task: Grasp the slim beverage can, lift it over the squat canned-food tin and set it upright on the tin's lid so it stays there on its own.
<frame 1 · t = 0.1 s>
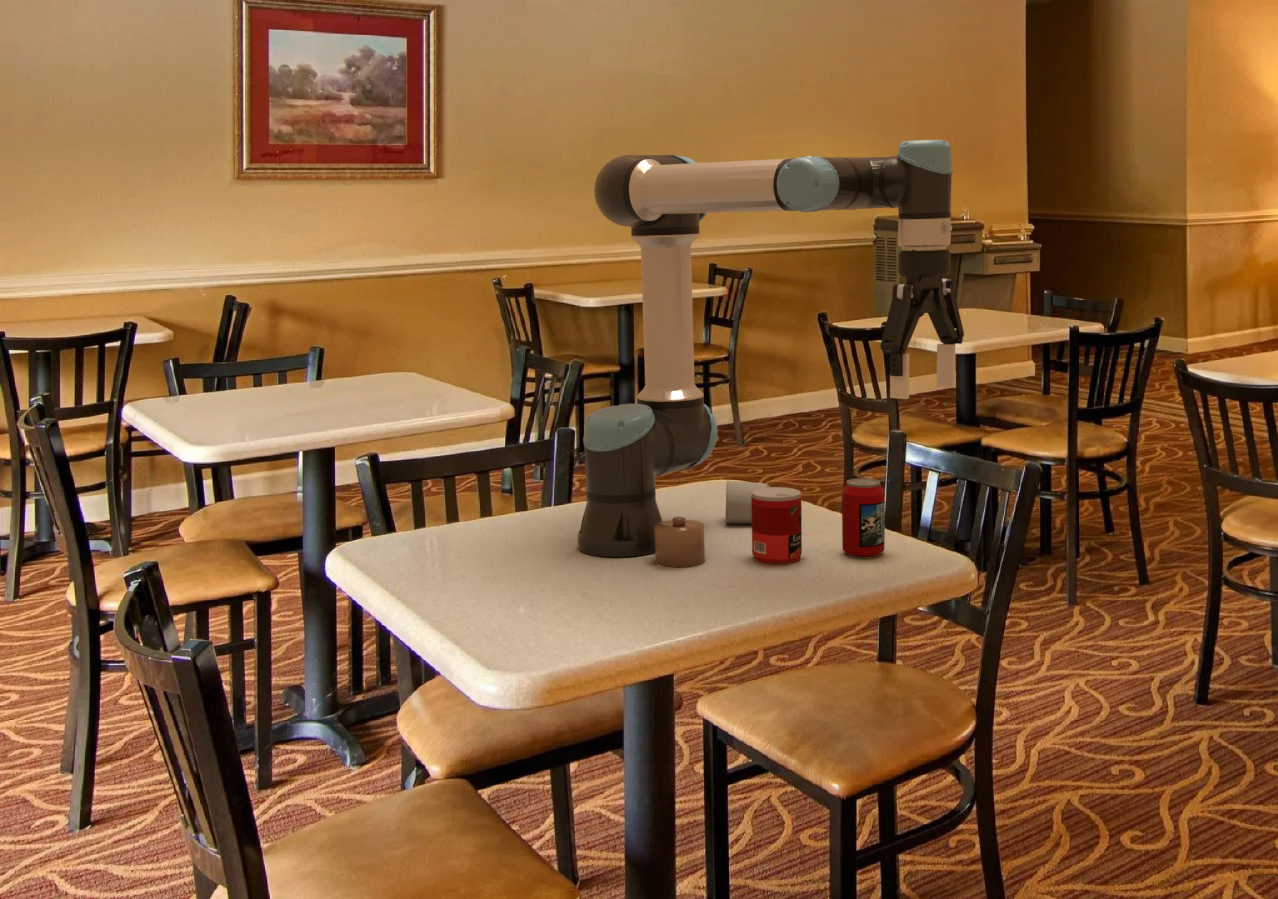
hand: (923, 392, 196), 28 cm above the table, fingers open, 13 cm apart
canned food: (777, 559, 212), on the table
beverage can: (863, 555, 213), on the table
sugar bowl: (680, 561, 212), on the table
ceramic mug: (746, 522, 238), on the table
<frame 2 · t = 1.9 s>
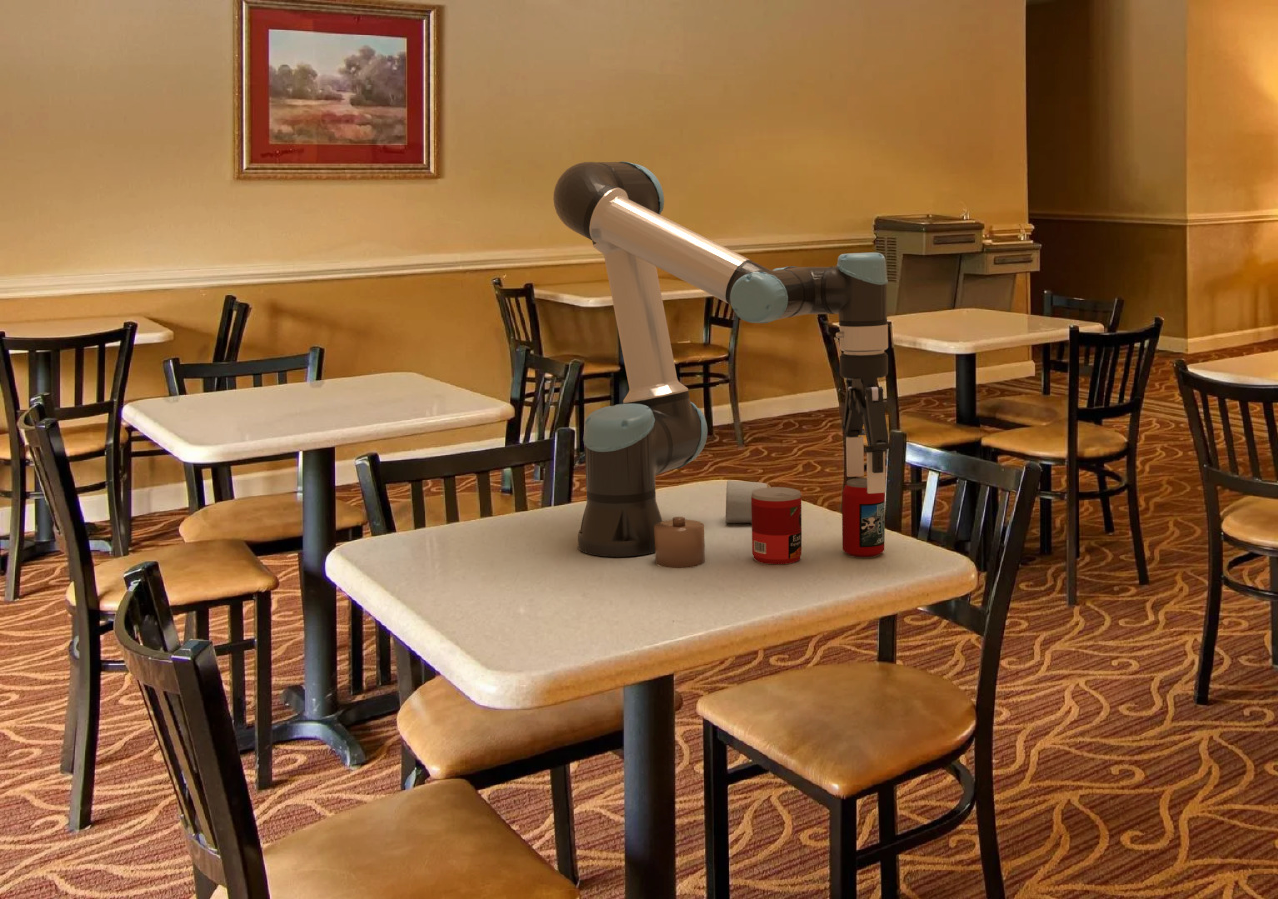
hand: (865, 484, 211), 12 cm above the table, fingers open, 13 cm apart
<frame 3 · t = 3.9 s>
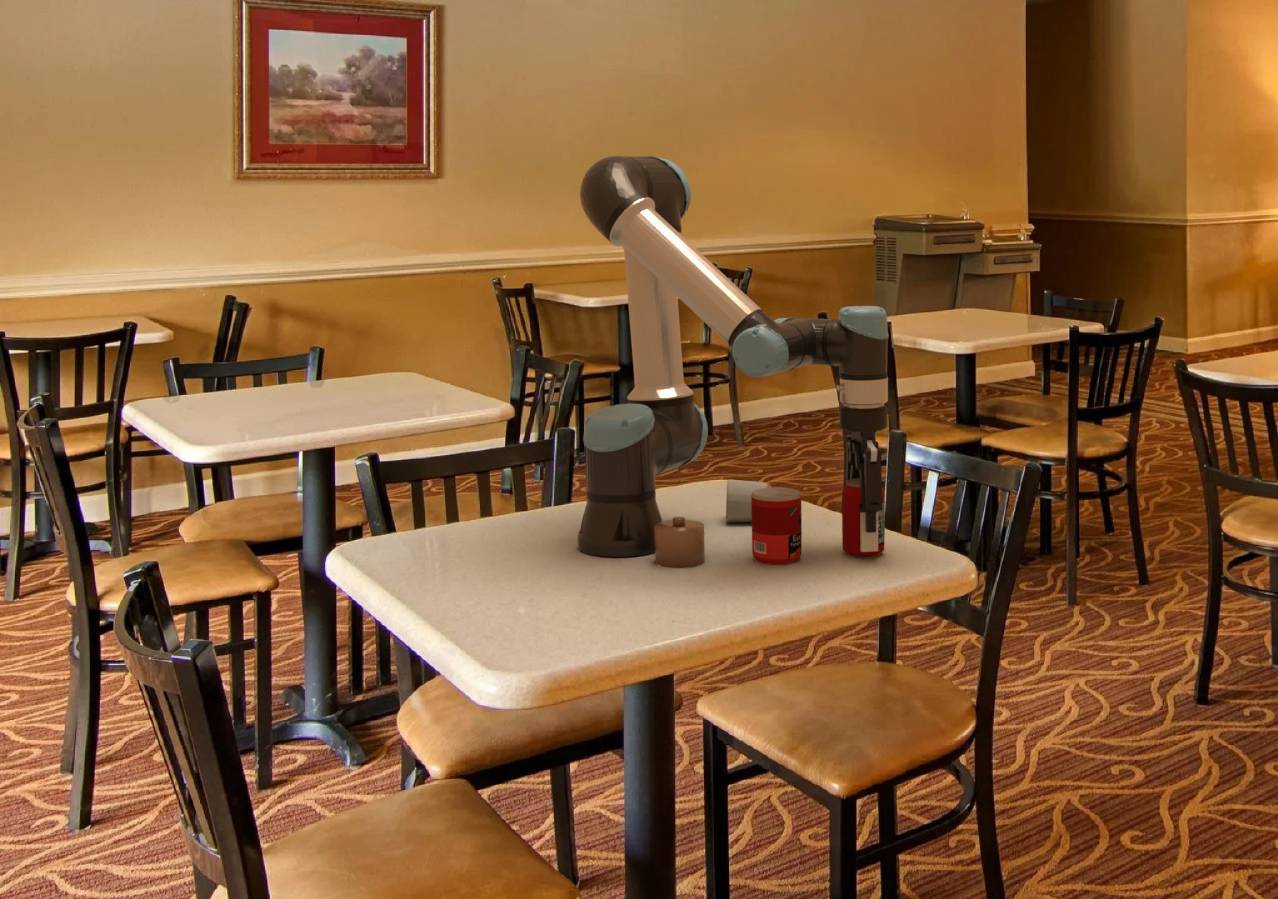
hand: (863, 544, 213), 2 cm above the table, fingers closed on beverage can, 7 cm apart
beverage can: (863, 555, 213), on the table, touching gripper
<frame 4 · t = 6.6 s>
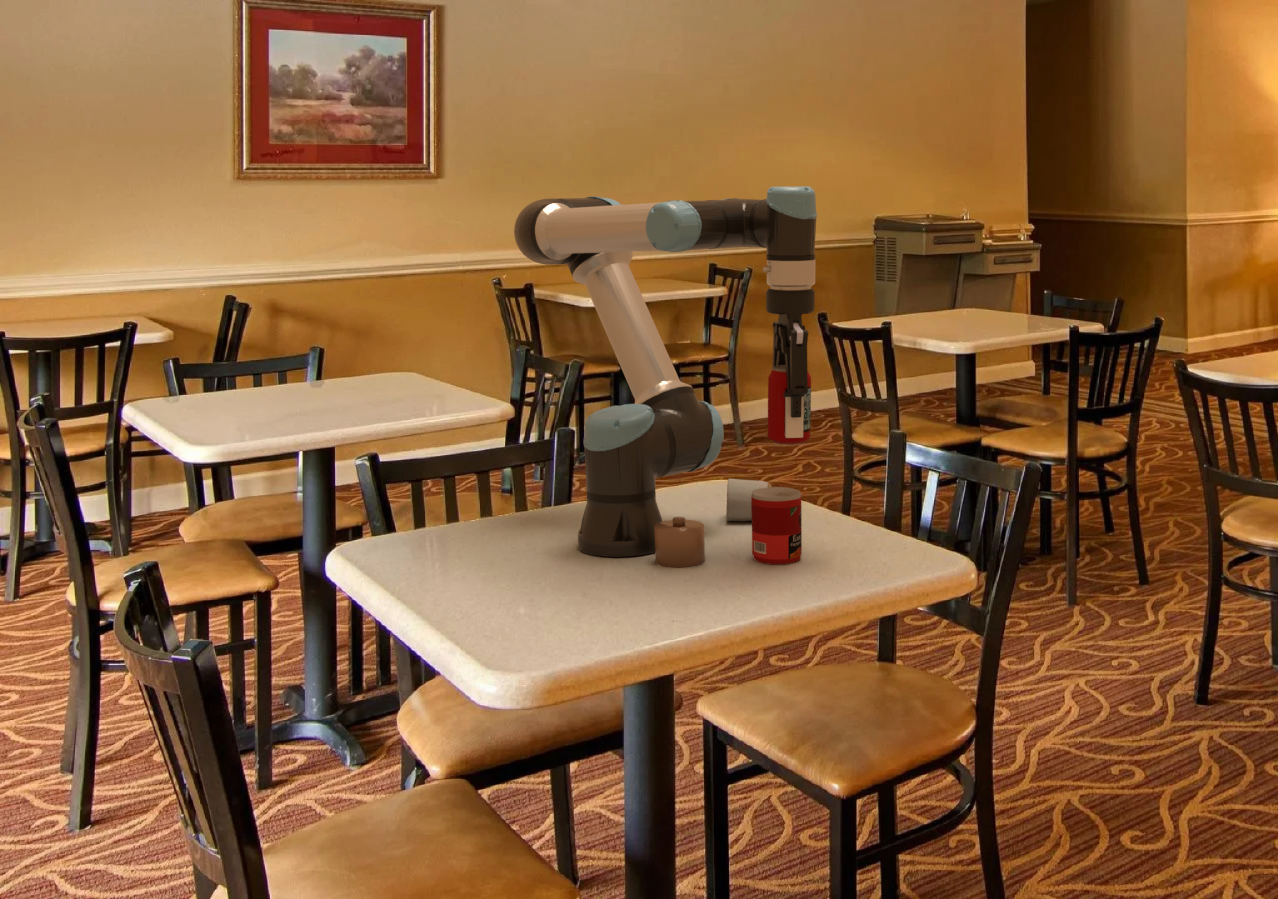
hand: (788, 432, 209), 20 cm above the table, fingers closed on beverage can, 7 cm apart
beverage can: (788, 443, 209), point 19 cm above the table, touching gripper
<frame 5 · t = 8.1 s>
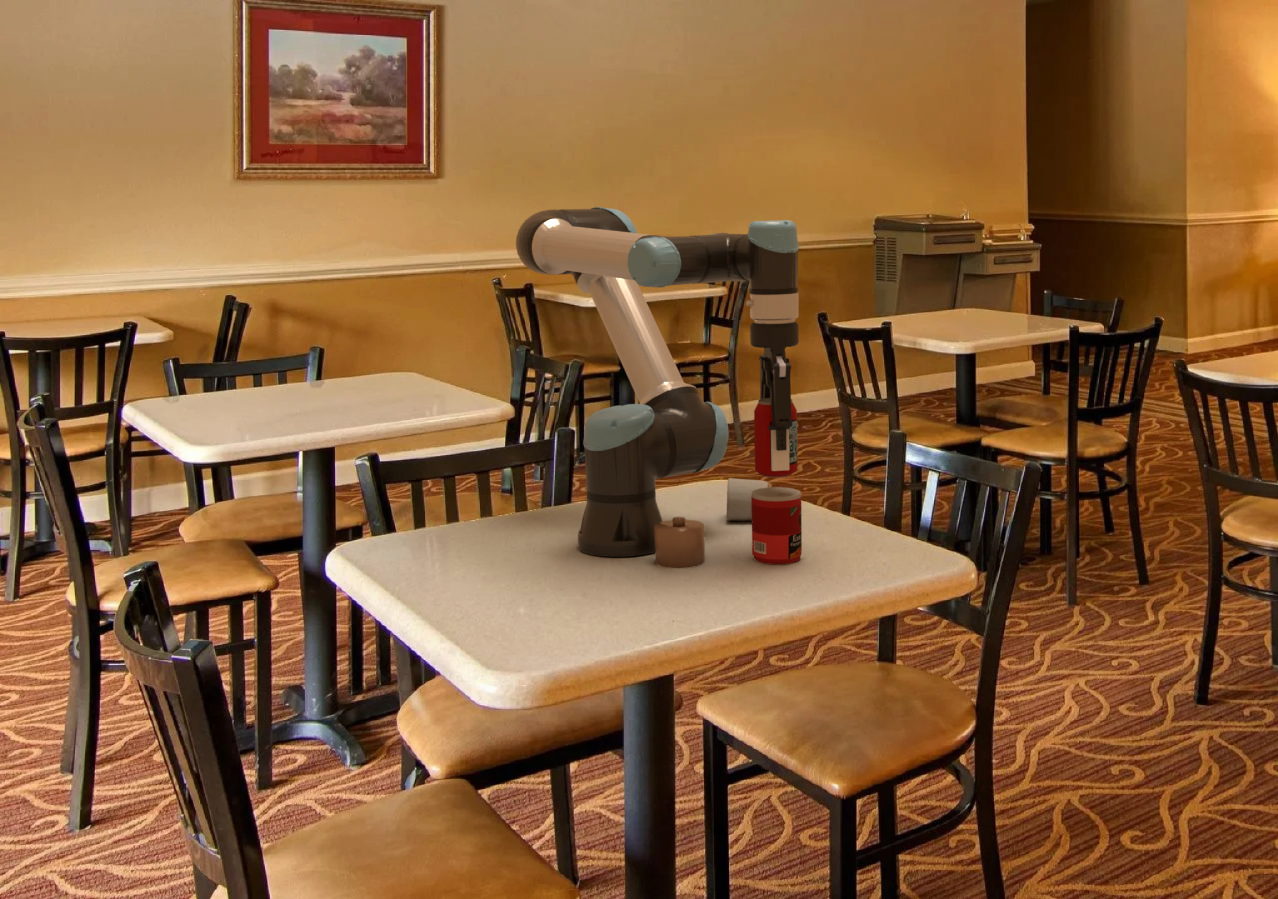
hand: (776, 465, 209), 15 cm above the table, fingers closed on beverage can, 7 cm apart
beverage can: (776, 475, 209), point 14 cm above the table, touching gripper
when the fingers open (14 cm above the table, at t = 9.2 s): beverage can drops 1 cm, resting on canned food.
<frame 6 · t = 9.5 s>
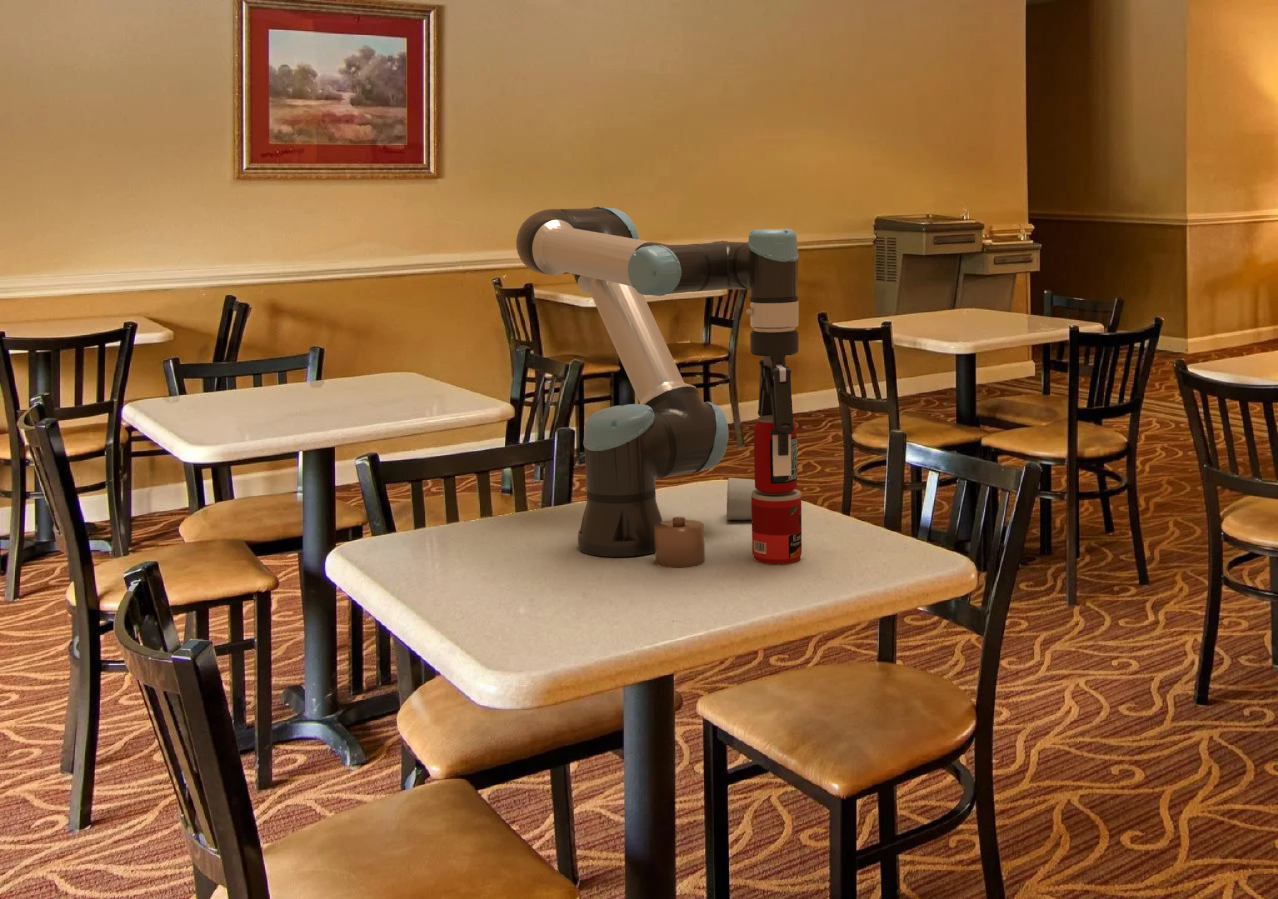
hand: (775, 468, 209), 15 cm above the table, fingers open, 10 cm apart
canned food: (777, 559, 212), on the table, touching beverage can
beverage can: (776, 493, 210), point 11 cm above the table, touching canned food
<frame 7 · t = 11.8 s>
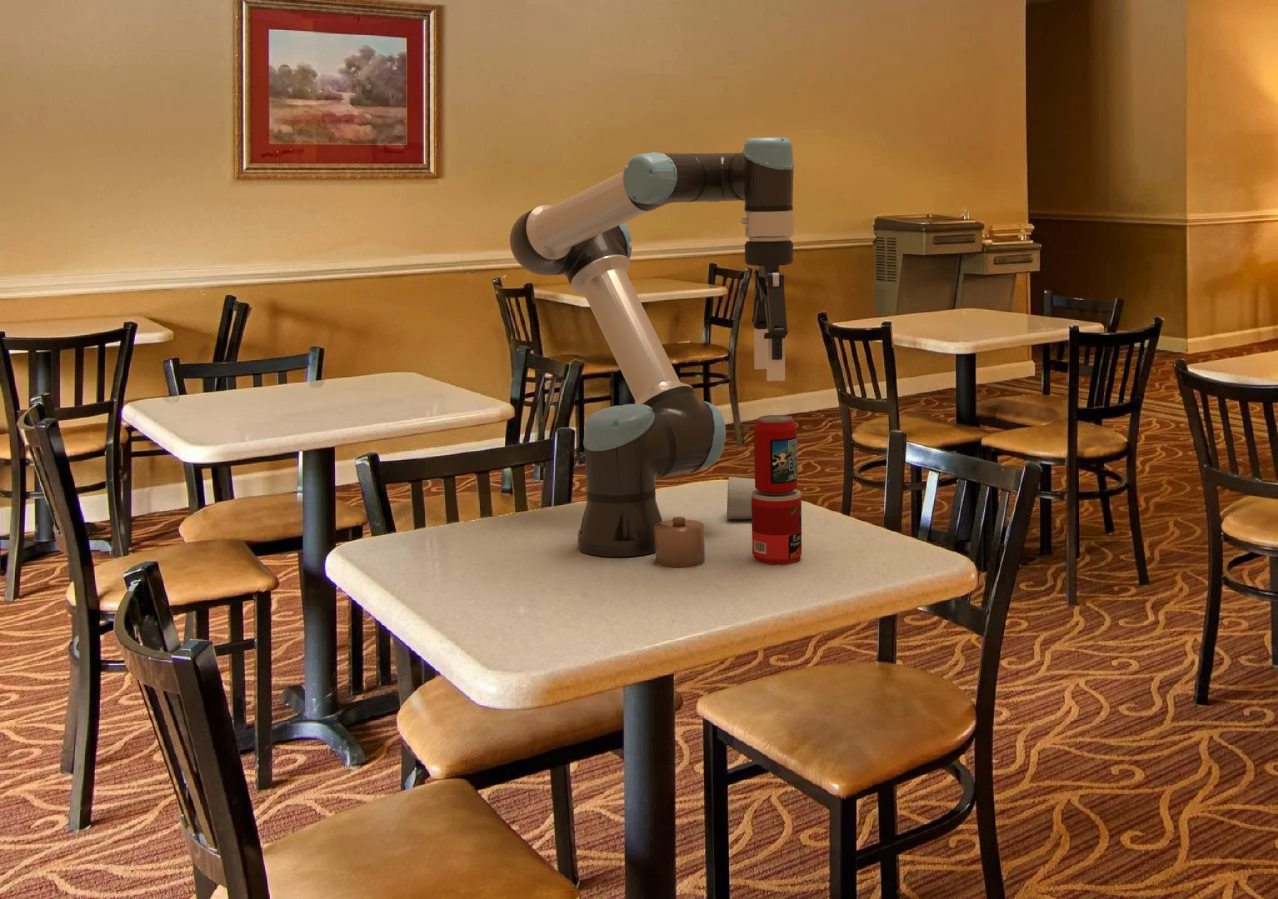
hand: (769, 374, 209), 30 cm above the table, fingers open, 13 cm apart
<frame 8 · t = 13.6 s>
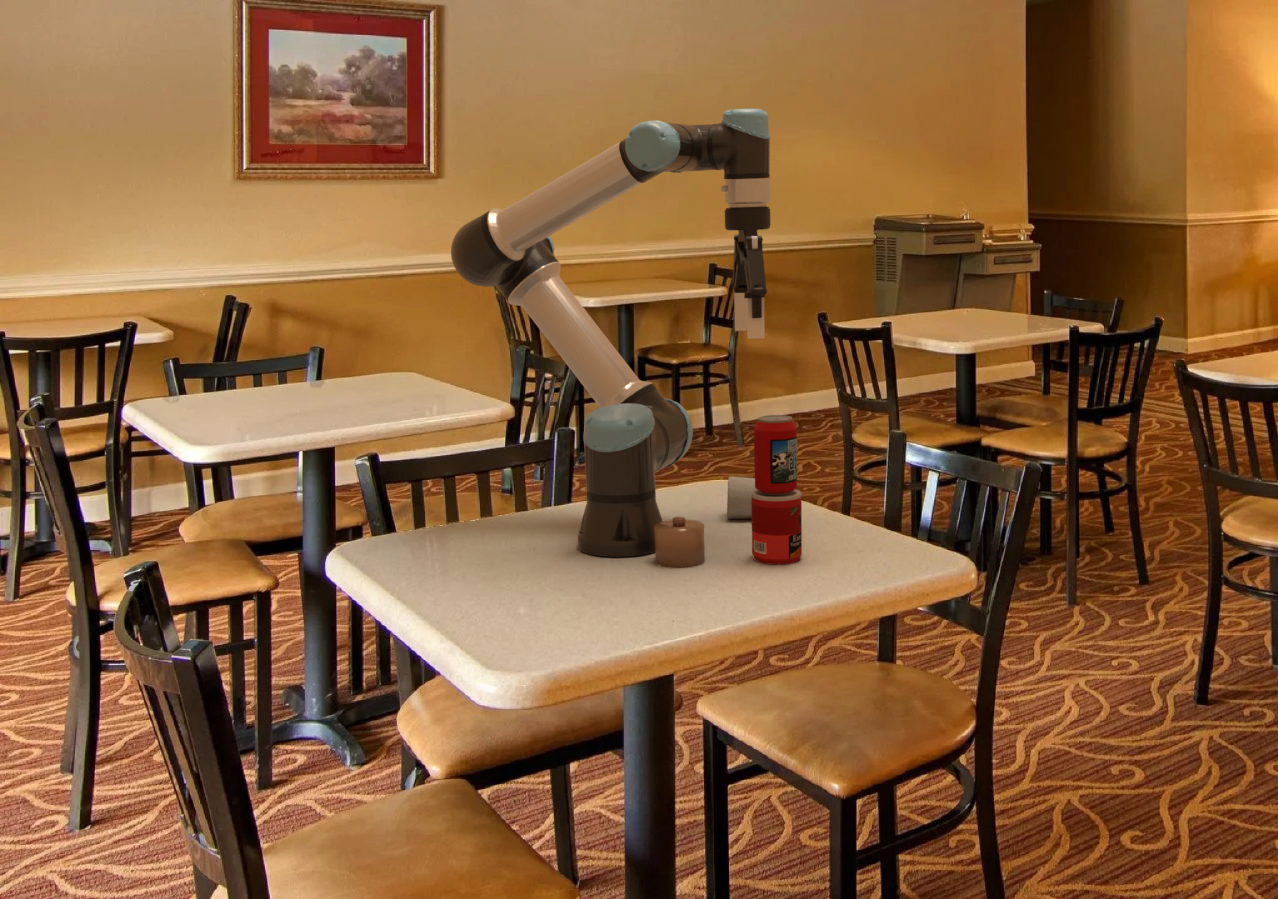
hand: (749, 334, 221), 35 cm above the table, fingers open, 13 cm apart
at the end: beverage can 0.0 cm off-centre on the canned food, point 11.0 cm above the canned food's base; beverage can tilted 0°; the gripper is holding nothing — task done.
